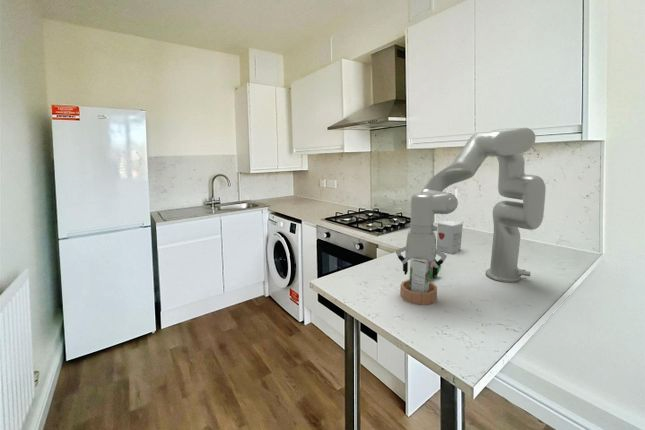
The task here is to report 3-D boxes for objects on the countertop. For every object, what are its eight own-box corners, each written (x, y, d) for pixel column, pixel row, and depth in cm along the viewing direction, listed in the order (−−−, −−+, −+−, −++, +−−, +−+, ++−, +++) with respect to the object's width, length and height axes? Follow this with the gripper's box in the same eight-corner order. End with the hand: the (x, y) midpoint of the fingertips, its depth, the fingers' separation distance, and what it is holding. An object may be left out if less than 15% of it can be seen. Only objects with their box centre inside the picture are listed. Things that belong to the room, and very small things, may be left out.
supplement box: (435, 250, 167) (437, 222, 164) (445, 246, 172) (447, 219, 169) (451, 254, 160) (453, 225, 157) (461, 250, 165) (463, 222, 162)
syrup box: (414, 289, 119) (415, 252, 116) (429, 293, 116) (431, 255, 113) (408, 295, 115) (409, 257, 112) (424, 299, 111) (426, 260, 108)
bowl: (437, 292, 118) (438, 282, 118) (434, 307, 107) (435, 296, 107) (403, 286, 123) (404, 277, 123) (397, 300, 112) (398, 290, 111)
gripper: (448, 228, 110) (445, 274, 114) (398, 224, 117) (397, 268, 121) (447, 233, 103) (444, 282, 107) (394, 229, 110) (393, 275, 114)
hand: (419, 275), depth 114 cm, fingers open, 9 cm apart
